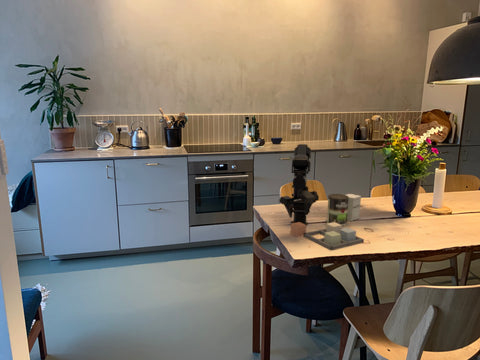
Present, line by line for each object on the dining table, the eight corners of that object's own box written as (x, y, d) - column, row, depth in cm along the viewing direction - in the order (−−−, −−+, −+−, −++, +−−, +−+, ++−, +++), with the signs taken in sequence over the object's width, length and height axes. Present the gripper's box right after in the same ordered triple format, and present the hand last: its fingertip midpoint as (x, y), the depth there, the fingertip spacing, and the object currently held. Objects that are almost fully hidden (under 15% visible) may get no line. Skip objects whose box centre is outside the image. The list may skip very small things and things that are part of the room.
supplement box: (351, 221, 202) (353, 198, 199) (339, 218, 208) (341, 195, 205) (359, 218, 207) (361, 195, 204) (348, 215, 212) (349, 193, 209)
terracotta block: (290, 233, 185) (290, 223, 183) (299, 231, 187) (299, 222, 186) (296, 236, 180) (297, 226, 179) (305, 235, 183) (305, 225, 182)
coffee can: (351, 224, 197) (352, 198, 194) (333, 226, 194) (334, 199, 191) (340, 218, 206) (342, 193, 203) (323, 220, 204) (324, 194, 200)
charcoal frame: (303, 236, 181) (303, 226, 180) (334, 229, 190) (334, 219, 189) (331, 250, 165) (331, 239, 163) (363, 242, 173) (364, 231, 172)
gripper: (294, 190, 167) (292, 224, 170) (327, 185, 176) (325, 217, 179) (279, 184, 177) (278, 217, 180) (311, 180, 185) (310, 211, 189)
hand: (298, 216), depth 182 cm, fingers open, 9 cm apart
